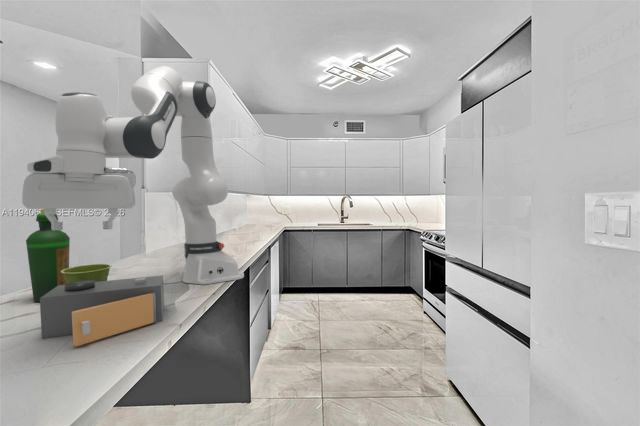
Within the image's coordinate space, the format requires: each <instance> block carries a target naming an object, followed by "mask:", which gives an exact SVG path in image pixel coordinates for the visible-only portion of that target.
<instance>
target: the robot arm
mask: <svg viewBox="0 0 640 426" xmlns="http://www.w3.org/2000/svg"><path fill="white" fill-rule="evenodd" d="M130 95H131V99H132V102H133V104H134V106H135V107H136V108H137V109H138V110H139V111H140V112H141V113H142V114H144V115H140V116H126V117H125V116H124V117H114V116H113V115H111V114H110V113H109V112H108V111H107V110H106V109H105V107H104V105H103V101H102V97H100V96H99V95H97V94H94V93H90V92H89V93H88V92H77V91H76V92H67V93H66V92H65V93H63V94H61V95H59V98H58V99H57V102H56V107H55V108H56V109H55V133H56V135H57V146H56V148H55V155H53V156H51V157H46V158H43V159H38V160H33V161H29V162H28V163H27V166H26V167H27V168H26V169H27V171H28V172H29V173H30V174H27V176H26V177H25V179H24V180H23V185H22V193H21V194H22V201H21V202H22V205H23V206H24V207H25V208H26V209H28V210H42V209H44V210H45V216H46V217H47V218H48V219H49V221H50V222H51V229H52V230H61V231H63V229H64V226H63V225H64V222H63V221H59V219H58V220H57V219H56V217H55V216H54V214H57V215H58V213H57V210H59V209H60V210H65V209H67V210H68V209H69V210H75V209H76V210H77V209H78V210H80V209H81V210H84V209H85V210H86V209H87V210H88V209H89V210H90V209H96V210H97V209H98V210H99V209H107V210H108V214H109V215H110V216H109V217H108V219H107V220H104V221H102V225H103V226H102V229H103V230H113V222H114V221H115V219H116V217H117V216H118V214H119V209H120V210H121V209H122V210H123V209H133V208H134V207H135V205H136V195H135V189H134V187H135V185H136V183H137V182H136V175H135V173H134V171H131V170H130V169H128V168H126V167H122V168H120V167H119V168H116V167H107V160H106V159H115V158H117V159H121V158H122V159H126V158H127V159H130V158H131V159H135V158H138V159H149V160H151V159H152V160H153V159H155V158H157V157H159V155H160V154H162V152H163V150H164V148H165V146H166V142H167V136H168V134H169V132H170V129H171V127H172V125H173V123H174V121H175V118H176V117H181V123H180V142H181V143H180V146H181V147H180V148H181V160H182V162H183V163H184V164H185V165H186V166H187V168H188V171H189V173H190V176H189V177H184V178H182V179H180V180H178V181H177V182H175V183H174V185H173V186H172V191H171V192H172V196H173V199H174V200H175V201H176V202H177V204H178V205H179V208H180V211H181V214H182V218H183V221H184V234H185V235H184V238H185V243H184V246H183V251H184V254H183V255H184V258H185V263H184V271H183V276H182V280H181V281H182V282H183V283H186V284H195V285H210V284H216V283H217V284H218V283H222V282H229V281H234V280H235V281H236V280H241V279H243V278H244V277H245V273H244V272H243V271H242V270H239V268H238V266H239V265H238V263H237V261H236V259H235V258H233V257H232V256H230V255H229V254H227V253H226V252H225V251H223V249H224V248H225V244H224V243H223V242H221V241H217V222H216V220H215V218H214V217H213V216H212V214H211V213H210V210H209V206H214V205H217V204H220V203H222V202H224V201H225V200H226V198H227V197H228V194H229V189H228V188H229V187H228V185H227V183H226V180H224V179H223V178H222V177H221V176H220V174H219V171H218V169H217V167H216V164H215V163H216V162H215V157H214V156H215V155H214V147H213V146H214V145H213V143H214V141H213V132H212V131H213V130H212V126H211V121H210V116H211V114H212V113H213V111H214V109H215V107H216V103H217V102H216V101H217V100H216V94H215V91H214V89H213V87H212V86H211V85H210V83H208V82H205V81H202V80H201V81H199V80H197V81H183V78H182V76H181V74H179V72H178V71H177V70H175V69H174V68H172V67H171V66H167V65H160V66H158V67H155V68H152V69H150V70H149V71H147V72H145V73H144V74H142V76H140V77H139V78H138V79H137V80H136V81H135V82H134V83H133V85H132V87H131V90H130Z"/></svg>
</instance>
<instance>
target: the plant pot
mask: <svg viewBox="0 0 640 426" xmlns="http://www.w3.org/2000/svg"><path fill="white" fill-rule="evenodd" d="M110 268H112V265H111V264H109V263H95V264H93V263H92V264H84V265H77V266H76V265H75V266H71V267H69V268H67V269H64V270H62V271H61V273H63V275H64V278H65V281H66V282H67V284H68V283H72V282H77V281H86V280H92V281H95V282H99V281H108V276H109V273H110Z"/></svg>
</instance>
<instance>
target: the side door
mask: <svg viewBox="0 0 640 426" xmlns="http://www.w3.org/2000/svg"><path fill="white" fill-rule="evenodd" d="M153 323H157V322H156V296H155V293H149V294H145V295H141V296H137V297H132V298H128V299H124V300H120V301H115V302H111V303H107V304H103V305H98V306H94V307H90V308H86V309H81V310H77V311H73V312H72V329H73V334H72V345H73V347H78V346H81V345H85V344H87V343H92V342H95V341H97V340H100V339H101V340H102V339H104V338H108V337H111V336H114V335H117V334H121V333H124V332H127V331H130V330H133V329H137V328H140V327H143V326H146V325H150V324H153Z"/></svg>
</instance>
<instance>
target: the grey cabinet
mask: <svg viewBox="0 0 640 426" xmlns="http://www.w3.org/2000/svg"><path fill="white" fill-rule="evenodd" d="M164 291H165V289H164V275H155V276H154V275H151V276H142V277H133V278H123V279H122V278H121V279H110V280H107V281H99V282H95V281H92V280H86V281H77V282H72V283H68V284H66V285H58V286H57V287H55V288H54V289H52V290H51V291H49V292H48V293H47V294H45V295H44V296H42V297H41V298H40V302H39V307H40V309H39V310H40V327H41V329H40V330H41V339H48V338H55V337H61V336H68V335H73V329H72V312H73V311H77V310H81V309H86V308H90V307H94V306H98V305H103V304H107V303H111V302H115V301H120V300H124V299H128V298H132V297H137V296H141V295H145V294H149V293H155V296H156V322H155V323H157V322H158V321H159V322H163V318H164V312H165V293H164ZM159 322H158V323H159Z"/></svg>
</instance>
